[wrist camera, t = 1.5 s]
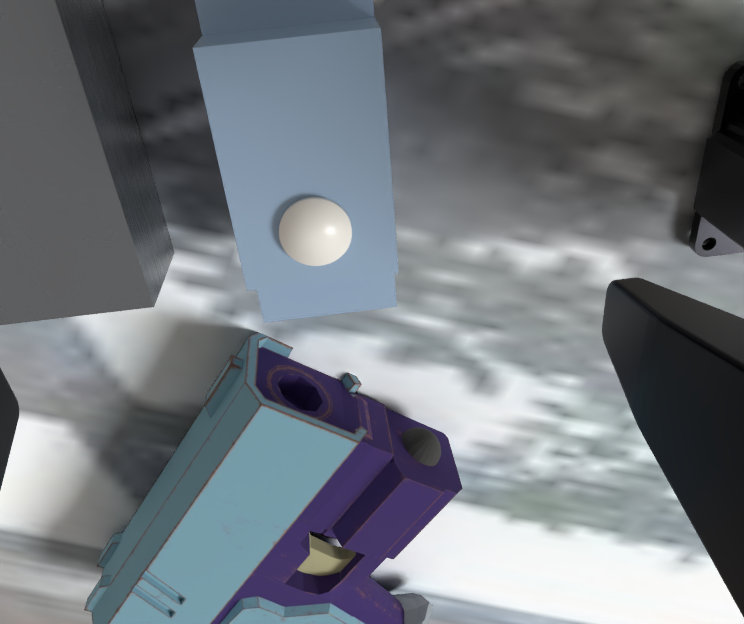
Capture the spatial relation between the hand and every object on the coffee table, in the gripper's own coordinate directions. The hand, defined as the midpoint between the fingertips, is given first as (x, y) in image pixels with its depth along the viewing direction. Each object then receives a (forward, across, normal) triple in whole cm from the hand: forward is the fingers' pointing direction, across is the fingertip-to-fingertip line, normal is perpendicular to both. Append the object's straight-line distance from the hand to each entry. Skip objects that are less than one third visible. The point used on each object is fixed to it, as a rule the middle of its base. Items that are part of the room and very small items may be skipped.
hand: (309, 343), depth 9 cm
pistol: (+12, +2, +18) cm, 22 cm away
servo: (+12, 0, 0) cm, 12 cm away
